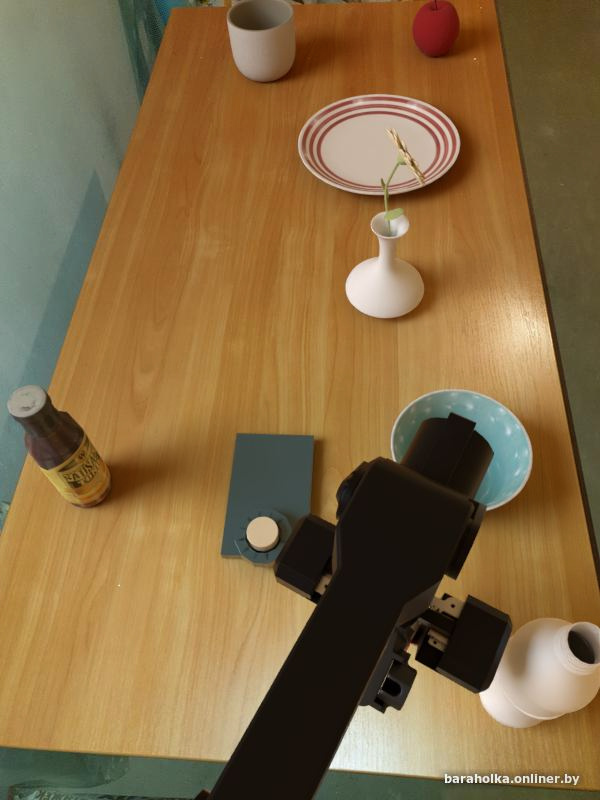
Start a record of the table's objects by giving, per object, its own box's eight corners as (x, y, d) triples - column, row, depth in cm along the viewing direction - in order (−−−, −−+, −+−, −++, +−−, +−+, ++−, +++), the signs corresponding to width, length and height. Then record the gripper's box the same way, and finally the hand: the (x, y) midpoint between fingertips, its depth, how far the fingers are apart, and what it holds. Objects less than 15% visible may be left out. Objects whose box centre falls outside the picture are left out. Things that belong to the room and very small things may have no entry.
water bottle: (471, 723, 64) (535, 689, 43) (473, 649, 68) (534, 584, 47) (544, 737, 63) (647, 709, 42) (543, 661, 67) (637, 600, 46)
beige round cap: (278, 552, 72) (276, 547, 71) (246, 550, 72) (244, 546, 71) (280, 521, 74) (279, 517, 72) (249, 520, 74) (248, 515, 73)
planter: (236, 54, 130) (228, -3, 120) (297, 51, 129) (294, -7, 120) (233, 90, 123) (224, 33, 114) (297, 87, 122) (293, 29, 113)
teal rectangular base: (306, 573, 73) (305, 565, 71) (220, 568, 74) (216, 560, 71) (314, 440, 82) (313, 429, 79) (237, 437, 83) (234, 426, 80)
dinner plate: (306, 106, 119) (305, 89, 116) (454, 107, 117) (457, 90, 114) (291, 207, 105) (290, 191, 102) (460, 211, 102) (463, 195, 100)
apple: (459, 62, 124) (468, 8, 115) (412, 64, 124) (418, 11, 116) (452, 36, 129) (460, -18, 120) (408, 38, 129) (412, -15, 121)
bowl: (392, 414, 83) (397, 380, 76) (515, 429, 81) (532, 395, 74) (379, 527, 75) (383, 500, 68) (516, 547, 73) (534, 522, 66)
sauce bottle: (95, 517, 78) (27, 442, 61) (55, 498, 80) (-22, 419, 63) (125, 473, 81) (68, 389, 64) (85, 455, 83) (20, 369, 66)
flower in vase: (424, 326, 91) (449, 183, 69) (344, 324, 92) (345, 183, 70) (421, 258, 98) (443, 110, 76) (346, 258, 98) (348, 111, 77)
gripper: (223, 607, 44) (250, 649, 58) (477, 758, 39) (442, 767, 52) (302, 478, 49) (310, 545, 62) (538, 596, 44) (492, 642, 57)
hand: (382, 621), depth 58 cm, fingers closed on pill bottle, 6 cm apart
